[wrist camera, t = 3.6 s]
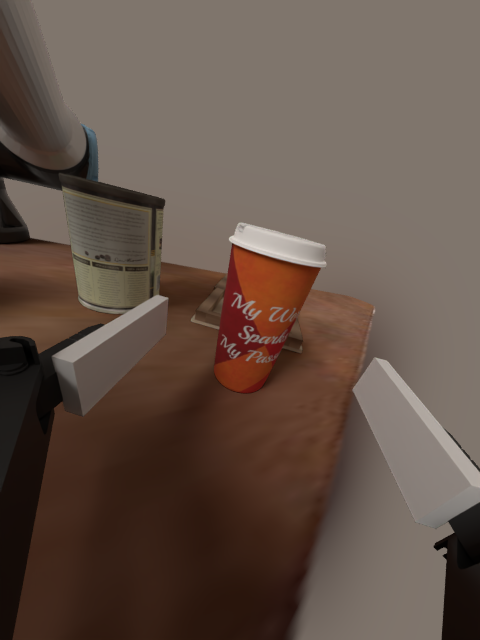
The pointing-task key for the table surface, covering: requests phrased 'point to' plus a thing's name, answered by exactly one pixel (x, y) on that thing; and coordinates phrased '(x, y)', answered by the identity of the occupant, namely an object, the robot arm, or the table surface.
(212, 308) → the keyhole slot
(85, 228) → the coffee can
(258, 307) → the paper cup
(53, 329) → the table surface
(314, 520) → the table surface
